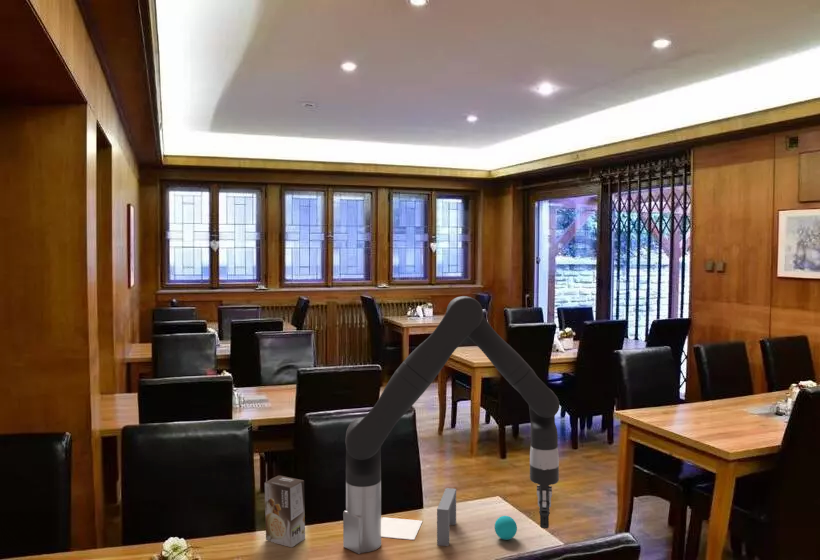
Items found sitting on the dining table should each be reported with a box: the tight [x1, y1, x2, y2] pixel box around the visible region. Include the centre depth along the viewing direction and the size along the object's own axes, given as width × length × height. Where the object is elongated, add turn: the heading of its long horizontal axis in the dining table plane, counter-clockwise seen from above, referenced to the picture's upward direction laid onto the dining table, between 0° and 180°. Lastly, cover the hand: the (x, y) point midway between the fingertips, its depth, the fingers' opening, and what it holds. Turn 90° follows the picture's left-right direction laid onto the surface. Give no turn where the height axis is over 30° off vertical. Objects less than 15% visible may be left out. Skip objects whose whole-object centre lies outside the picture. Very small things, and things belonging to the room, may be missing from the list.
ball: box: [494, 515, 518, 541], centre depth 168 cm, size 6×6×6 cm
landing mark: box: [381, 516, 423, 541], centre depth 174 cm, size 12×12×1 cm
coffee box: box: [264, 475, 306, 548], centre depth 167 cm, size 9×6×16 cm
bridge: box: [436, 487, 457, 547], centre depth 171 cm, size 3×15×10 cm, turn 168°
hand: (544, 527), depth 166 cm, fingers closed
